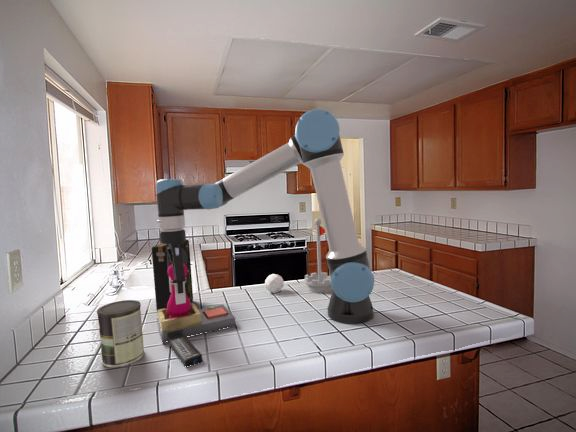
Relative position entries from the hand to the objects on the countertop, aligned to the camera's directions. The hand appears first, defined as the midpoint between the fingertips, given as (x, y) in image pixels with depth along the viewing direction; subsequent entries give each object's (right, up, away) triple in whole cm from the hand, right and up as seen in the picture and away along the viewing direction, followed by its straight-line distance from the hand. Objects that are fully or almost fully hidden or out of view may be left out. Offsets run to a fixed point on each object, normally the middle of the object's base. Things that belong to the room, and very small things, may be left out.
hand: (177, 297), depth 104 cm
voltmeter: (-8, -9, +22) cm, 26 cm away
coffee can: (-9, -13, -15) cm, 22 cm away
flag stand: (+48, -6, +37) cm, 61 cm away
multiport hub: (+7, -12, -15) cm, 20 cm away
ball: (+29, -7, +35) cm, 46 cm away
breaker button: (+11, -9, +6) cm, 15 cm away
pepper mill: (0, -8, +1) cm, 8 cm away
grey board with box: (+5, -10, +3) cm, 12 cm away
